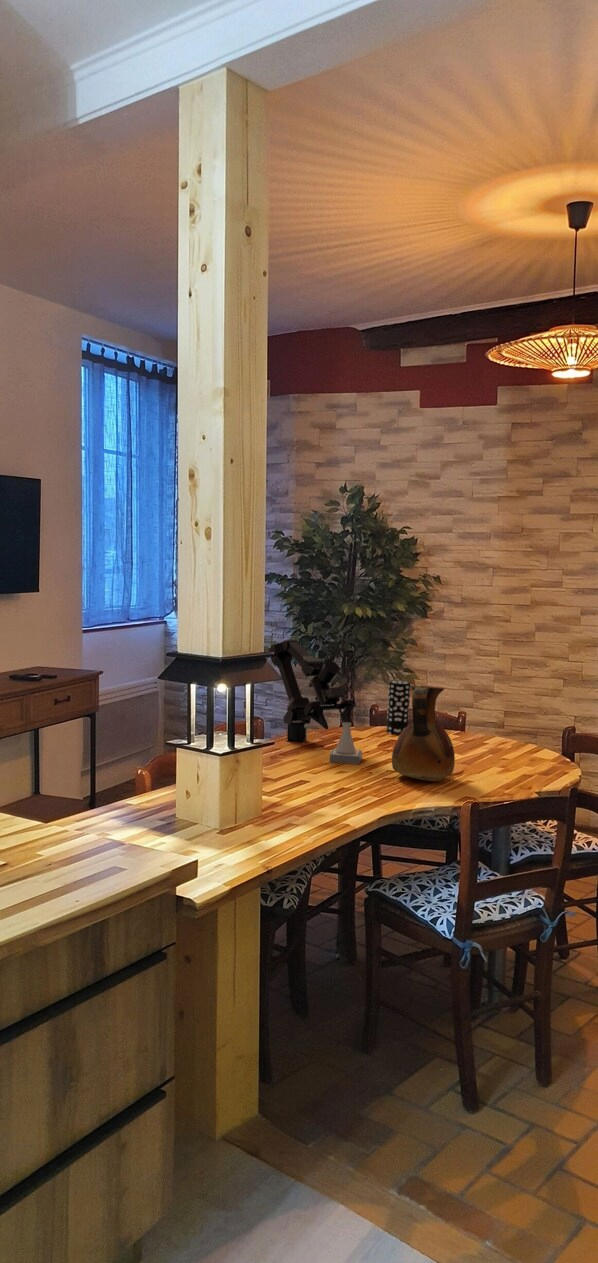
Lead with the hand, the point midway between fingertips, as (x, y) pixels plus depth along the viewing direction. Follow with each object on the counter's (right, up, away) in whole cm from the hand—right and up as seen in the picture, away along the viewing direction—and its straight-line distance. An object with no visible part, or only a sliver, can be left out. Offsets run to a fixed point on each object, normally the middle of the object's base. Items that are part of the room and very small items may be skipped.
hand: (338, 728), depth 317 cm
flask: (+2, -8, -4) cm, 9 cm away
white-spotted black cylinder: (+25, -7, +47) cm, 54 cm away
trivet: (+2, -10, -3) cm, 11 cm away
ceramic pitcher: (+25, -14, -24) cm, 38 cm away
